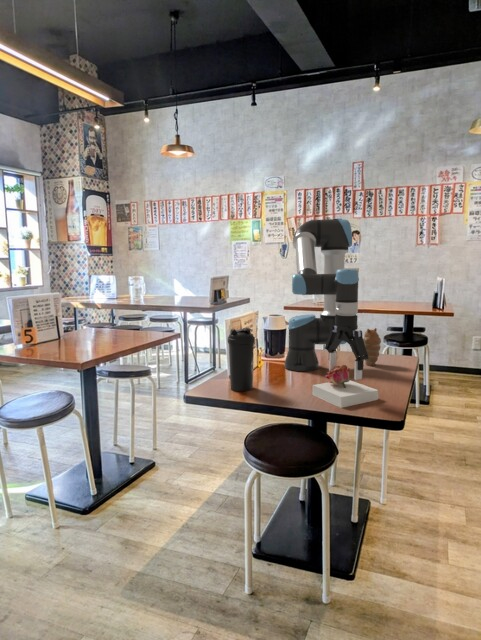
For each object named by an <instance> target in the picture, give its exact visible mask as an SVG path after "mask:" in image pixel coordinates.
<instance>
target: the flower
mask: <svg viewBox="0 0 481 640" xmlns="http://www.w3.org/2000/svg"><path fill="white" fill-rule="evenodd" d="M350 370H351V369H350V367H348V366H347V365H346V364H342V365H341V366H339V365H336V366H334V367H333V369H332V370H330V371H328V372H326V375H324V378H326V379H327V380H329V381H328V383H333V384H332V385H335V386H337V385H340V384H342V385H343V387H344V388H346V386H345V384H344V382H349V381H350V380H351V376H352V374H350V373H351V372H350ZM330 385H331V384H330Z"/></svg>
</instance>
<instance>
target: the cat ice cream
mask: <svg viewBox="0 0 481 640" xmlns="http://www.w3.org/2000/svg"><path fill="white" fill-rule="evenodd" d="M366 329H367V330H366V331H365V332H364V337H363V341H364V344H365V347H366V351H367V354H368V359H366V360H364V361H365V365H366V366H367V367H374V366H376V363H377V362H378V359H379V357H380V350H381V342H382V340H381V338H380V335H379V334H378V332H377V329H378V328H376V327H375V328H373V329H369V328H366Z"/></svg>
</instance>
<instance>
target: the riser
mask: <svg viewBox="0 0 481 640" xmlns="http://www.w3.org/2000/svg"><path fill="white" fill-rule="evenodd" d="M330 384H331V385H330ZM332 384H333V383H329V382H323V383H317V384H312V396H314V397H315V398H319V399H321V400H323V401H324V402H327V403H329V404H332V405H333V406H336V407H338V408H341V409H342V408H347V407H350V406H356V405H359V404H364V403H369V402H374V401H377V400H379V390H378V389H375V388H373V387H370V386H367V385H365V384H362V383H359V382H357V381H353V380H351V379H350V381H349V382H344V384H345V386H346V388H344V387H343V385H342V384H340V385H337V386H335V385H332Z"/></svg>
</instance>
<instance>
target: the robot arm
mask: <svg viewBox="0 0 481 640" xmlns="http://www.w3.org/2000/svg"><path fill="white" fill-rule="evenodd" d="M352 231H353V230H352V226H351V223H350V221H349V220H348V219H345V218H343V219H342V218H331V219H328V218H327V219H326V218H325V219H310V220H308V221H305V222H304V223H302V224H301V225H300V226H298V228H296V231H295V232H294V234H293V237H292V244H293V247H294V249H295V258H296V259H295V261H296V262H295V263H296V274H295V273H294V274H293V275H292V276H291V278H292V281H291V292H292V294H293V295H300V296H301V295H302V296H315V295H323V311H321V312H320V315H319V317H316V315H315V314H300V315H296V316H295V315H294V316H292V317H290V318H289V320H288V327H287V329H288V351H287V353H286V357H285V361H284V368H285V369H286V370H290V371H296V372H312V371H315V370H318V369H320V368H319V367H320V366H319V359H318V357H317V354H316V345H324V350H325V351H326V350H327V353H328V361H329V362H328V372H330V370H332V369H333V367H334V366H337V360H338V359H337V358H338V357H337V354H338V353H337V349H338V348H339V347H340V345H346V344H348V345H349V347H350V348H351V351H352V353H353V354H354V355H353V356H354V357H355V360H354V368H353V369H354V373H353V374H354V377H353V379H354V380H355V381H357V380H362V379H363V370H364V361H365V360H366V359H368V354H367V351H366V347H365V344H364V341H363V339H364V337H363V331H362V330H361V329H360V330H356V327H357V326H358V318H359V317H358V313H359V309H358V308H359V306H358V305H359V300H358V299H359V282H360V281H359V280H360V277H359V270H358V269H355V268H352V269H351V268H345V259H346V258H345V257H346V254H347V253H348V252H349V248H351V247H352V246H353V232H352ZM315 248H320V252H321V253H322V254H323V255H324V258H323V259H324V263H323V264H324V266H323V267H324V268H323V271H324V272H323V273H318V269H317V260H316V250H315Z"/></svg>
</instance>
